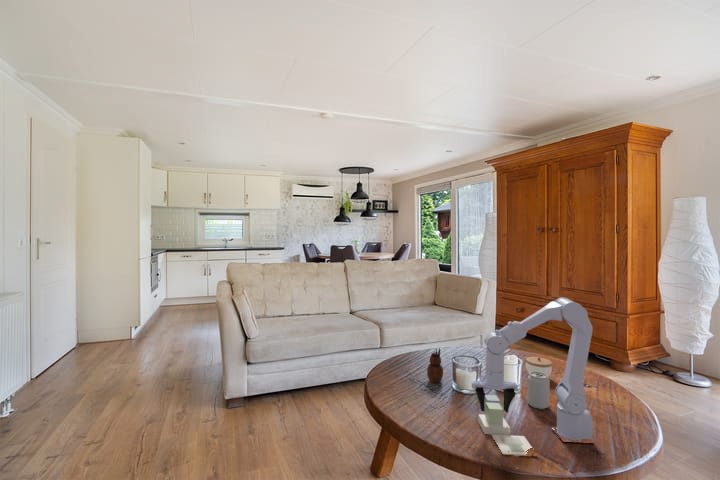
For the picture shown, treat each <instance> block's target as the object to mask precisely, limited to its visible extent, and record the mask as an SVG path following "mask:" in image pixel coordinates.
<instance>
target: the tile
mask: <svg viewBox="0 0 720 480" xmlns="http://www.w3.org/2000/svg"><path fill="white" fill-rule="evenodd" d="M491 437H492V439H493V441H494V440H495V441H494V443H495V442H496V443H495V444H497V445H498V447H499V448H498V447H497V448H498V450H499V449H500V450H501V452H502V454H513V455H526V454H527V452H528V451H527V450H528V449H530V448H533V446H532V445H531V444H530V442H529V441H528V439H527V438H526V437H525V436H524V435H511V434H510V435H491ZM497 445H496V446H497ZM500 450H499V451H500ZM508 451H509V452H508ZM526 451H527V452H526ZM501 452H500V453H501ZM502 454H501V455H502Z"/></svg>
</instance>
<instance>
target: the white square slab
mask: <svg viewBox="0 0 720 480" xmlns="http://www.w3.org/2000/svg"><path fill="white" fill-rule="evenodd" d="M477 420H478V421H477V422H478V424H479V426H480V429H481V430H482V432H483V434H484V435H485V434H490V435H489V436H492V435H511V427H510V426H509V424H508V422H507V421H506V418H504V417H503V425H499V424H489V423H488V421H487V419H486V417H485V414H484V413H483V414H482V413H481V414H480V413H479V414H478V416H477Z"/></svg>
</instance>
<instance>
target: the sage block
mask: <svg viewBox="0 0 720 480" xmlns="http://www.w3.org/2000/svg"><path fill="white" fill-rule="evenodd" d="M484 412H485V414H484V415H485V417H486V419H487V421H488V423H489V424H499V425H503V418H504V407H503V406H502V405H501V403H500V404H499V403H488V402H486V405H485V409H484Z"/></svg>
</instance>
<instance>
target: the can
mask: <svg viewBox="0 0 720 480" xmlns="http://www.w3.org/2000/svg"><path fill="white" fill-rule="evenodd" d="M550 382H551V381H550V379H549V377H548V376H547V375H546V374H544V373H541V372H530V374H528V376H527V387H526V389H527V391H526V392H527V394H526V395H527V399H526V401H527V403H528V404H529V406H530V407H532V408H534V409H537V408H538V409H537V410H545V408H546V409H547V408H549V407H550V391H551V389H550V385H551V384H550Z"/></svg>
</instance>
